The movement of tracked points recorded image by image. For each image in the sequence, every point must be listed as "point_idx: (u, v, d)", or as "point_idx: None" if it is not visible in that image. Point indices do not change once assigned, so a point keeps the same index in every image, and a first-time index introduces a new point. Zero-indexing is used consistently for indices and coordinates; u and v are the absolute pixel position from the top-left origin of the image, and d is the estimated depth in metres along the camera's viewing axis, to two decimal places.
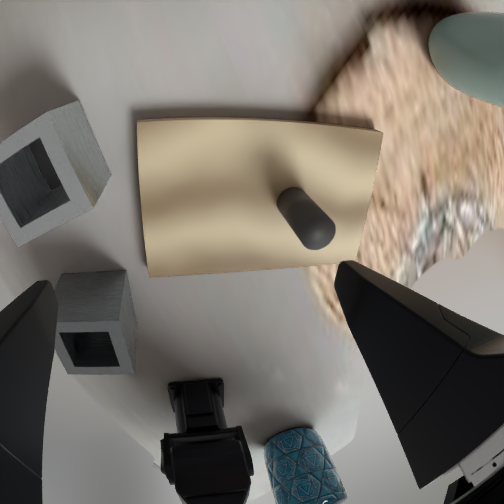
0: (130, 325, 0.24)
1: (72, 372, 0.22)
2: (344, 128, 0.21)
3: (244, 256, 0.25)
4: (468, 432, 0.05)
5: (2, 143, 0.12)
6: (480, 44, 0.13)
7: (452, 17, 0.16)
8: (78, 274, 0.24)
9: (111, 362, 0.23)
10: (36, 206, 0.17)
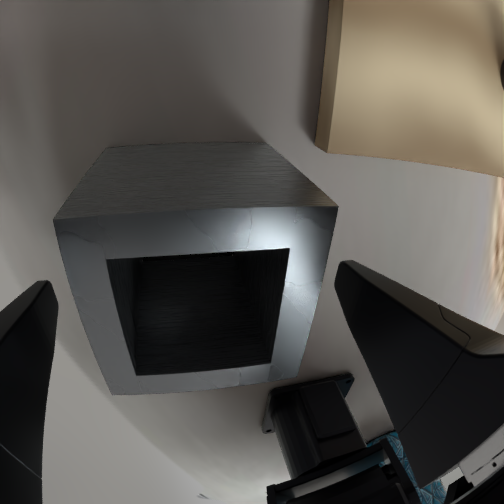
0: None
1: (125, 390, 0.09)
2: None
3: (465, 142, 0.12)
4: (468, 432, 0.05)
5: None
6: None
7: None
8: (151, 145, 0.11)
9: (241, 356, 0.09)
10: None
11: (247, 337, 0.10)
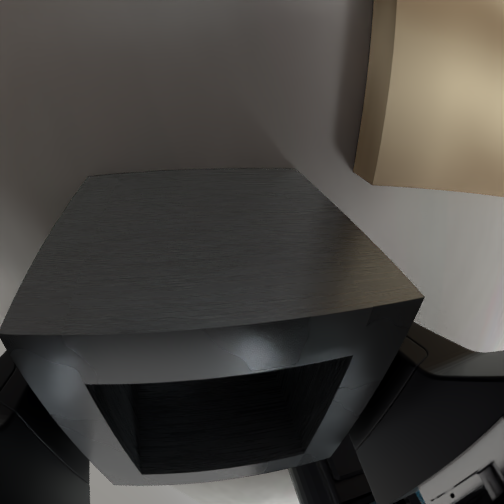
0: None
1: (129, 482, 0.06)
2: None
3: None
4: (424, 458, 0.05)
5: None
6: None
7: None
8: (146, 173, 0.08)
9: (268, 446, 0.07)
10: None
11: (274, 420, 0.08)
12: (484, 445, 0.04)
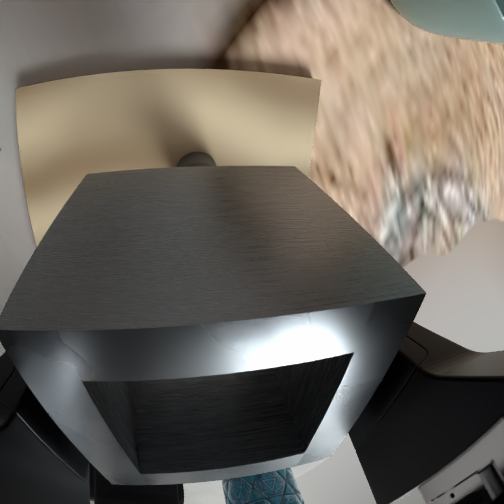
0: None
1: (128, 482, 0.06)
2: (262, 73, 0.16)
3: None
4: (424, 458, 0.05)
5: None
6: None
7: None
8: (145, 171, 0.08)
9: (269, 445, 0.07)
10: None
11: (274, 419, 0.07)
12: (484, 445, 0.04)
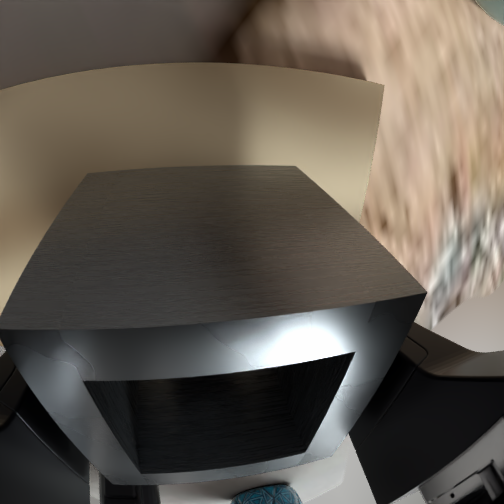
0: None
1: (128, 482, 0.06)
2: (297, 71, 0.09)
3: None
4: (424, 458, 0.05)
5: None
6: None
7: None
8: (145, 170, 0.08)
9: (269, 445, 0.07)
10: None
11: (274, 419, 0.07)
12: (484, 445, 0.04)
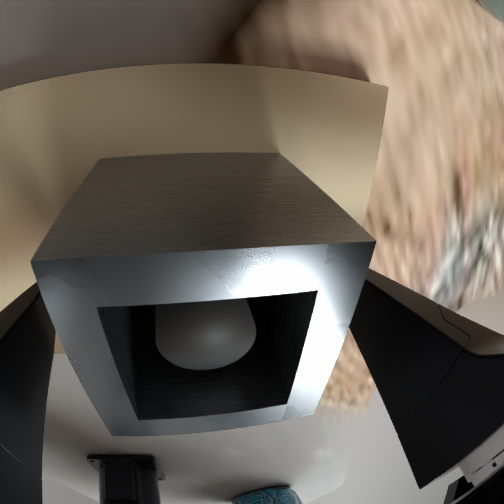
0: None
1: (126, 432, 0.07)
2: (299, 72, 0.09)
3: None
4: (468, 432, 0.05)
5: None
6: None
7: None
8: (150, 156, 0.09)
9: (254, 396, 0.08)
10: None
11: (260, 374, 0.09)
12: None
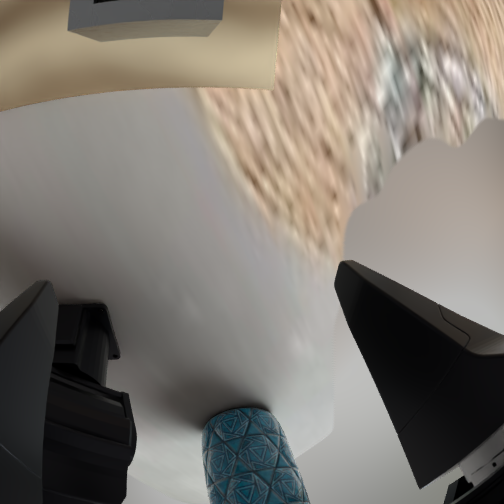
0: None
1: (79, 22, 0.08)
2: None
3: (94, 70, 0.14)
4: (468, 432, 0.05)
5: None
6: None
7: None
8: None
9: None
10: None
11: None
12: None
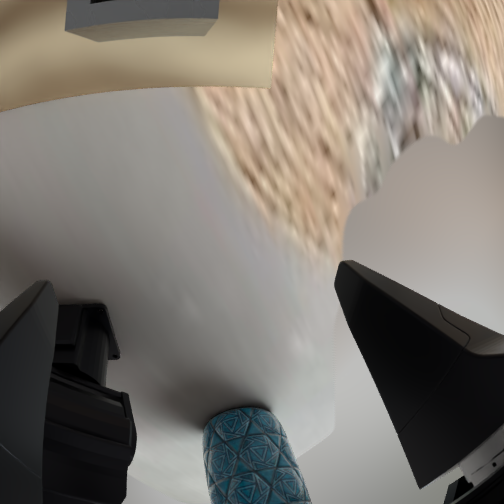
0: None
1: (76, 22, 0.08)
2: None
3: (91, 70, 0.14)
4: (468, 432, 0.05)
5: None
6: None
7: None
8: None
9: None
10: None
11: None
12: None
